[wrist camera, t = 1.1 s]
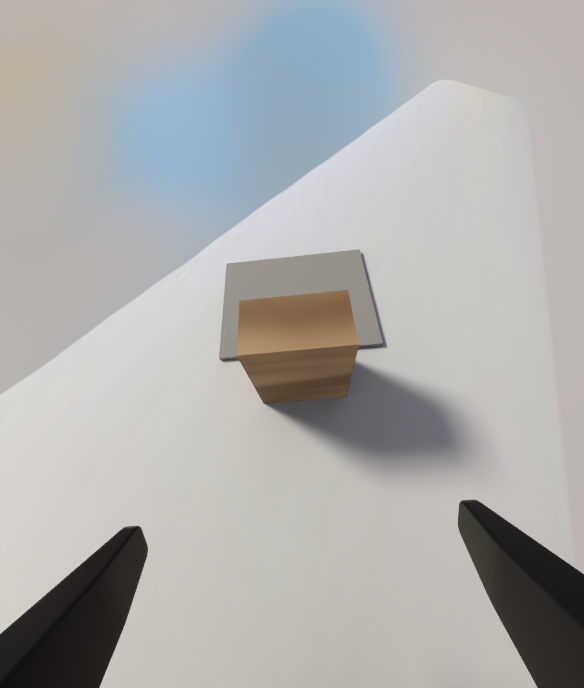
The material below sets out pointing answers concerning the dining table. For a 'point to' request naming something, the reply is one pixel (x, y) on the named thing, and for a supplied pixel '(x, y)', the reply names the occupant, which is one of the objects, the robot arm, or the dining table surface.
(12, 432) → the dining table surface
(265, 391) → the walnut block
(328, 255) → the mat
